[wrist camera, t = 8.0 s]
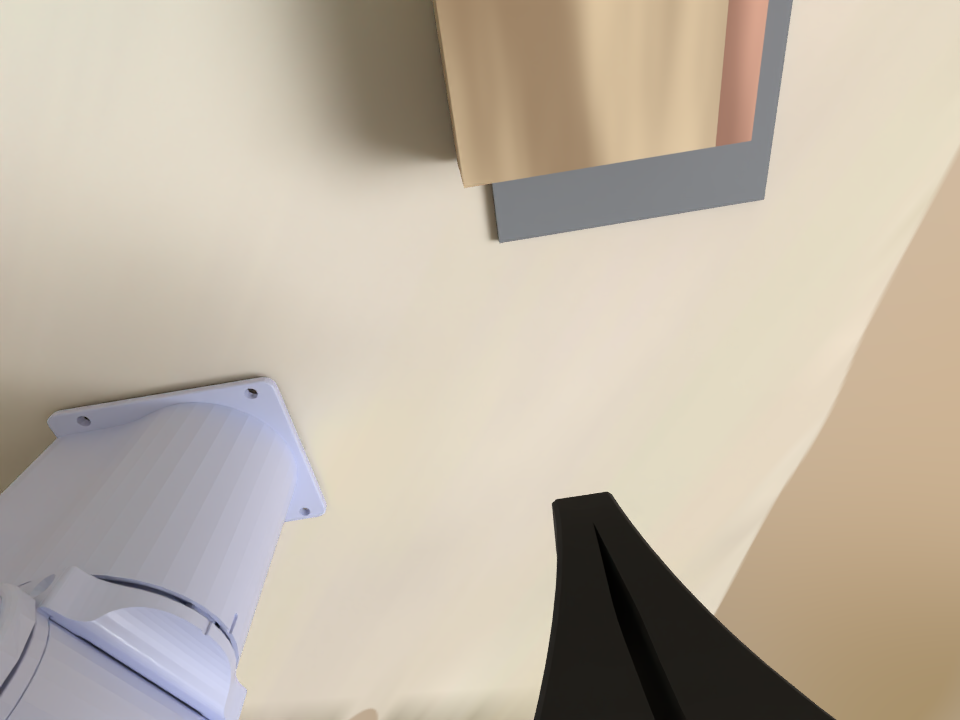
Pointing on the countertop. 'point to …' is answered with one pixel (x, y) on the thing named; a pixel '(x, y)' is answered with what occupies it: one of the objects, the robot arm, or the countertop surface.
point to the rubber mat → (654, 171)
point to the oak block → (595, 80)
